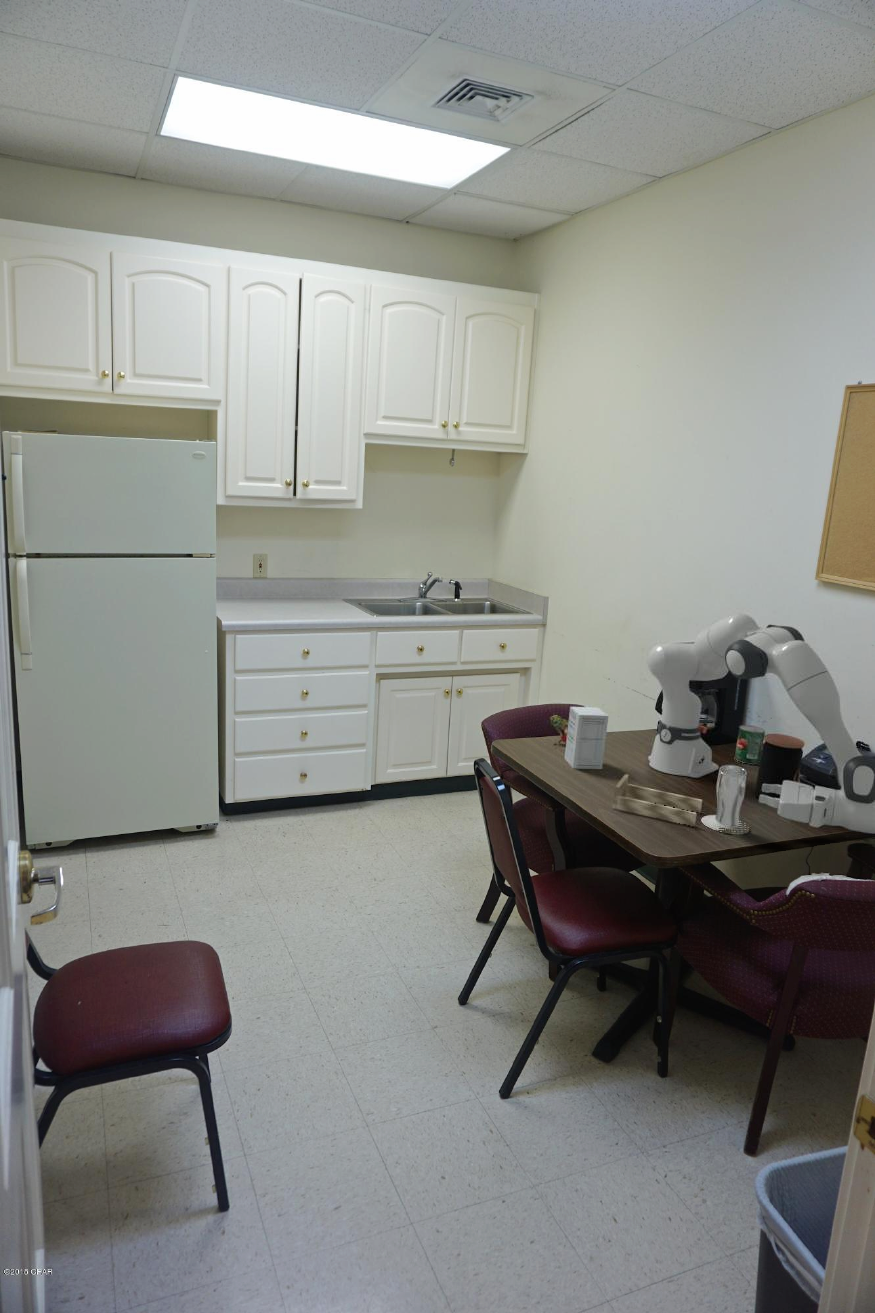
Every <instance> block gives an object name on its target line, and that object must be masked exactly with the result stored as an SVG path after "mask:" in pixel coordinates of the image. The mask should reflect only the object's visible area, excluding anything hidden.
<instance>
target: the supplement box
mask: <svg viewBox="0 0 875 1313" xmlns="http://www.w3.org/2000/svg"><path fill="white" fill-rule="evenodd" d="M568 714H569V715H568V716H569V717H568V722H569V723H568V732H567V741H566V743H565V753H564V760H565V761H566V762H567V764H568V765H569V766H570V767H571V768H572V769H573V770H574V769H576V770H578V769H581V770H603V766H604V765H603V764H604V756H605V749H606V748H605V747H606V740H607V732H608V723H609V715H608V714H607V713H606V712H604V711H603V710H602V709H601V708H599V707H590V706H570V707H569V713H568Z"/></svg>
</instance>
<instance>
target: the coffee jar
mask: <svg viewBox="0 0 875 1313" xmlns="http://www.w3.org/2000/svg"><path fill="white" fill-rule="evenodd" d="M804 747H805V741H804V740H802V739H800V738H798V737H795V736H792V735H788V734H782V733H765V735H764V742H763V747H762V753H761V758H760V764H758V772H757V777H756V784H755V790H754V794H755V796H756V798H757V797H758V798H759V797H760V795H761V794H763V795H768V797H772V798H779V799H780V794H776V793H772V792H769V793H767V792H763V791H762V785H763V784H769V785H776V784H778V785H782V784H783V781H784V780H789V781H794V782H798V783H799V777H800V772H801V768H802V762H803V755H804V750H803V748H804ZM758 798H757V799H758Z"/></svg>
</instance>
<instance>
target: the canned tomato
mask: <svg viewBox="0 0 875 1313" xmlns="http://www.w3.org/2000/svg"><path fill="white" fill-rule="evenodd" d="M765 735H766V730H765V729H764V728H762V727H760V726H756V725H751V724H750V725H748V724H742V725H739V730H738V736H737V741H736V746H735V747H736V748H735V754H734V758H733V759H734V760H735V759H736V760H737V761H736V760H735V761H736V762H738V761H740V762H742V763H741V764H743V763H748V764H747V765H749V764H756V763H759V762H760V759H761V753H762V747H763V743H764V742H765V740H764V736H765ZM740 762H739V763H740Z"/></svg>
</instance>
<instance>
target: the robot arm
mask: <svg viewBox="0 0 875 1313" xmlns="http://www.w3.org/2000/svg"><path fill="white" fill-rule="evenodd" d="M647 668H648V670H649V672H650V673H651V674H652V675H653V677H654V678H656V679H657V681H658V683H659V685H660V687H661V691H662V696H663V697H662V698H663V699H662V700H663V701H662V712H661V717H660V718H661V719H660V720H659V722H658V729H657V732H658V734H657V735H655V739H654V743H653V746H652V749H651V754H650V755H648V758H647V760H648V761H649V766H650V767H651V768H653V769H654V770H656V771H659V772H662V773H666V774H670V775H677V776H684V777H691V778H696V779H697V778H701V777H703V776H705V775H707V774H711V773H713V772H715V771H717V770H718V771H719V765H718V764H717V763H714V762H713V761H712V760H713V759H712V758H713V756H712V755H713V751H712V748H711V747H710V746H709V745H708V744H707V743H706V742H705V741H704V740H703V739H702V737H701V736H702V735H701V733H702V734H706V733H707V729H708V728H707V727H706V726H703V725H699V724H700V717H701V711H702V706H703V705H702V701H701V699H700V698H699V696H698V695H696V693H694V692H692V691H691V690H690V681H706V682H707V681H713V680H719V679H722V678H724V677H725V676H726V675H727V674H728V673H731V674H732V676H734V677H735V678H737V679H740V680H749V679H751V680H752V679H756V678H757V679H758V678H761V677H765V676H766V675H767V674H774V675H776V676H777V677H778V679H779V680H780V682H781V684H782V685H783V688H784V689H785V691H786V693H787V695H788V696H789V698H790V700H791V701H792V703H793V704H794V705H795V707H796V708H797V710H799V712H800V714H802V715H803V717H805V718H806V720H807V721H808V722H809V723H810V725H811V726H813V728H814V729H815V730H816V732H817V733H818V734H819V736H820V737H821V739H822V741H823V743H824V745H825V747H826V748H827V751H828V752H829V754H830V756H831V759H832V760H833V763H834V765H835V769H836V781H837V784H838V787H839V788H840V789H834V788H830V787H829V788H828V787H825V786H819V785H815V786H814V787H813V786H812V785H809V784H805V783H802V782H799V781H798V782H794V781H789V780H784V781H783V784H782V785H778V784H776V785H769V784H763V785H762V791H763V792H767V793H769V792H772V793H776V794H780V799H779V798H772V797H768V795H763V794H761V795H760V797H759V799H758V802H759V803H760V804H766V806H769V807H771V808H775V809H777V813H776V814H777V815H778V816H780V817H783V818H785V819H787V820H792V821H796V822H800V823H804V824H805V823H806V824H809V826H810V827H813V828H820V827H822V826H824V825H827V826H834V827H835V826H837V827H838V826H840V827H844V828H845V829H848V830H850V831H854V832H859V833H860V832H861V833H867V834H875V758H873V757H871V756H867V755H863V754H862V753H861V752H860V751H859V750H858V748H857V746H856V744H855V742H854V741H853V738H852V736H851V735H850V733H849V731H848V730H847V727H846V726H845V724H844V721H843V718H842V713H841V699H840V695H839V694H840V693H839V692H838V688H837V685H836V683H835V681H834V678H833V677H832V675H831V673H830V671H829V670H828V668H827V666H826V665H825V663H824V662H823V661H822V659H821V658H820V657H819V654H817V652H815V650H814V649H813V648H812V647H811V646H810V644H809V643H807V642H806V641H805V638H804V637H803V635H802V633H801V632H800V631H799V630H798V629H797V628H794V627H792V626H787V625H776V624H768V625H766V627H759V625H758V624H757V622H756V620H755V619H754V618H752V617H751V616H749V615H747V614H745V613H735V614H731V615H729V616H726V617H724V618H722V619H719V620H718V621H716V622H714V623H712V624H711V625H709V626H708V627H707V628H705V629H704V630H702V631H701V632H699V633H698V634H697V635H696V637H695V639H694V642H693V643H681V642H680V643H679V642H667V643H666V642H665V643H661V644H656V645H655V646H653V647H652V648H651V649H650V651H649V653H648V655H647Z"/></svg>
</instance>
